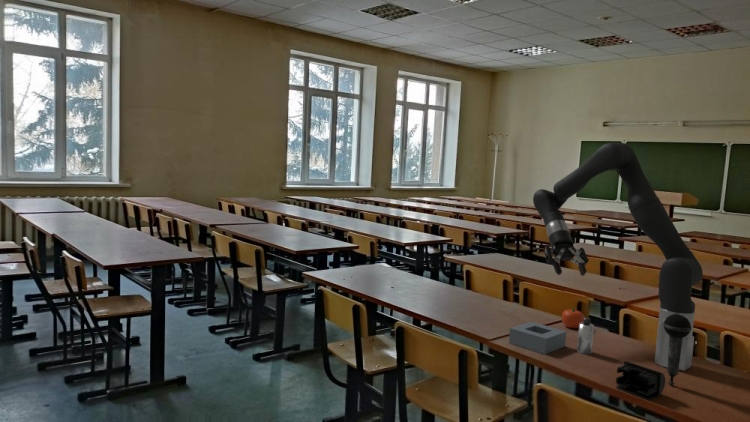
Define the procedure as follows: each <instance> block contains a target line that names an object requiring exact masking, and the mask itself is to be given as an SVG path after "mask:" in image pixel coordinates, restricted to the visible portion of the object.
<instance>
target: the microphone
mask: <svg viewBox="0 0 750 422" xmlns="http://www.w3.org/2000/svg"><path fill="white" fill-rule="evenodd" d="M663 326H664V329H665V331H666V333H667V334H668V335H669V351H668V367H666V368H667V371H666V373H667V374H668V376H670V380H669V382H668V385H669V386H672V387H673V386H674V385H675V382H674V377H675V378H676V376H678V375H679V370H678V369H679V362H680V355H681V348H682V341H683V338H684V337H686V336H687V335H688V334H689V333H690V331H691V329H692V328H691V324H690V322H689V320H688V319H687V318H686V317H684V316H682V315H679V314H673V315H670V316H668V317H667V318H666V319H665V321H664V323H663Z"/></svg>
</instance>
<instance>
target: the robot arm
mask: <svg viewBox="0 0 750 422" xmlns="http://www.w3.org/2000/svg"><path fill="white" fill-rule="evenodd" d="M608 171H612V172H613V171H615V172H617V174H618V176H619V177H620V179H621V180H622V182H623V184H624V185H625V189H626V196H627V197H626V198H627V206H628V210H629V213H630V214H631V216H632V217H633V219H634V221H635V223H636V225H637V226H638V227H639V229H640V230H641V231H642V232H643V233H644V234H645V235H646V236H647V237H648V238H649V239H650V240H651V241H652V242H653V243H654V244H655V245H656V246H657V247H658V248H659V250H660V251H661V252H662V254H663V256H664V258H665V261H664V262H663V263H662V265H661V266H660V271H659V275H658V276H659V277H658V280H659V282H658V299H659V304H660V305H659V313H658V323H657V324H658V325H657V333H656V342H655V343H656V345H655V353H654V362H655V363H656V364H657V365H658V366H660V367H664V368H667V367H668V351H669V335H668V334H667V333H666V331H665V329H664V326H663V323H664V321H665V319H666V318H667V317H668V316H670V315H673V314H679V315H682V316H684V317H686V318H687V319H688V320H689V322H690V324H691V328H692V329H691V331H690V333H689V334H688V335H687V336H686V337H684V338H683V341H682V348H681V355H680V362H679V369H678V371H682V372H685V371H686V370H689V369H690V368H691V367H692V361H693V354H694V353H693V352H694V342H695V336H694V335H693V330H694V321H695V320H694V319H695V313H696V312H695V311H696V304H695V302H694V301H693V300H692V287H693V286H696V285H698V284H699V283H701V281H702V279H703V275H704V272H703V268H702V265H701V263H700V262H699V261H698V259H697V257H696V256H695V255H694V254H693V252H692V251H691V250H690V248H689V247H688V245H687V244H686V243H685V241H684V240H683V239H682V237H681V235H680V233H679V231H678V230H677V228H676V226H675V224H674V222H673V221H672V219H671V217H670V215H669V214H668V212H667V210H666V208H665V207H664V205H663V204H662V202H661V200H660V198H659V197H658V195H657V193H656V192H655V190H654V188H653V186H652V185H651V183H650V181H649V180H648V179H647V177H646V175H645V173H644V170H643V169H642V166H641V164H640V162H639V159H638V157H637V155H636V153H635V151H634V149H633V148H632V146H630V144H627V143H624V142H608V143H604V144H603V145H601V146H600V147H598V149H596V151H594V153H593V154H591V155H590V156H589V157H588V158H587V159H586V160H585V161H584V162H583V163H582V164H581V165H579V166H578V167H577V168H576V169H575V170H573V171H572V172H570V173H569V174H567V175H566V176H564V177H562V178H561V179H560V180H559V181H557V182H556V183H555V184H554V185H553V191H550V190H547V189H543V188H541V189H537V190H536V191H535V192H534V193H533V197H532V202H533V206H534V208H535V210H536V211H537V212H538V214H539V216H540V217H541V218H542V220H543V223H544V226H545V230H546V236H547V238H548V242H549V244H550V246H548V245H547V246H546V248H545V249H544V250H543V251H544V257H545V260H546V261H545V262H546V264H547V265H552V266H553V270H554V271H555V273H556V274H557V275H558V276H560V275H561V274H562V273H563V270H562V267H561V263H560V262H559V261H560V260H561V261H563V262H564V261H567V262H568V261H569V262H571V263H573V264H576V265H577V266H578V270H579V274H580V276H583V277H584V276H585V275H586V273H587V268H586V265H587V264H588V263H589V258H588V256H587V253H586V251H585V249H584V247H580V248H576V247H575V245H574V241H573V239H572V236H571V232H570V230H569V227H568V225H567V223H566V220H565V217H564V214H563V213H562V211H561V210H560V209H561V208H562V206H564V204H565V203H566V202H567V201H568V200H569V198H571V197H573V196H575V195H576V194H577V193H579V192H580V191H582V190H583V189H584V188H585V187H586V186H587V184H588V183H589V182H590V181H591V180H592V179H593V178H595V177H596V176H598V175H601V174H603V173H605V172H608ZM552 254H553V255H555V258H553V255H552Z"/></svg>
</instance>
